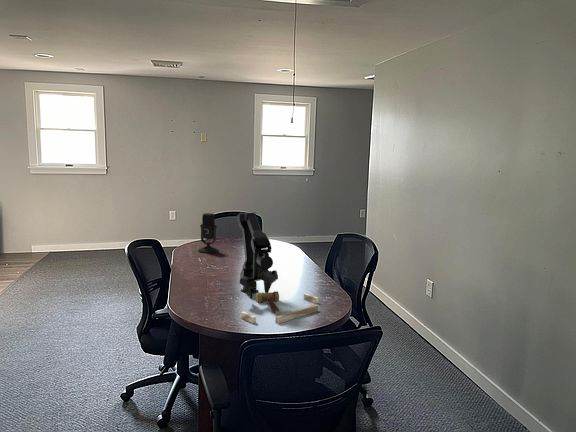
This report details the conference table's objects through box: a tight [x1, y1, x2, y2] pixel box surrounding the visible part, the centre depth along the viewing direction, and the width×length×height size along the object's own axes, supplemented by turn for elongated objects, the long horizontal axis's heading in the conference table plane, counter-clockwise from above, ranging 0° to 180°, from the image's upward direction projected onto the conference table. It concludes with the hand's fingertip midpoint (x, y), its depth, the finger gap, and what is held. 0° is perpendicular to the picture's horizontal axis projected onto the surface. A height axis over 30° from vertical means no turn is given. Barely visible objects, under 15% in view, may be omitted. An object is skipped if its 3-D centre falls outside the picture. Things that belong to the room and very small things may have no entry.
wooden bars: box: [240, 293, 320, 325], centre depth 198 cm, size 14×39×2 cm, turn 134°
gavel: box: [255, 290, 280, 316], centre depth 203 cm, size 21×5×10 cm
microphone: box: [197, 212, 219, 254], centre depth 306 cm, size 14×14×25 cm
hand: (258, 296), depth 210 cm, fingers open, 9 cm apart
